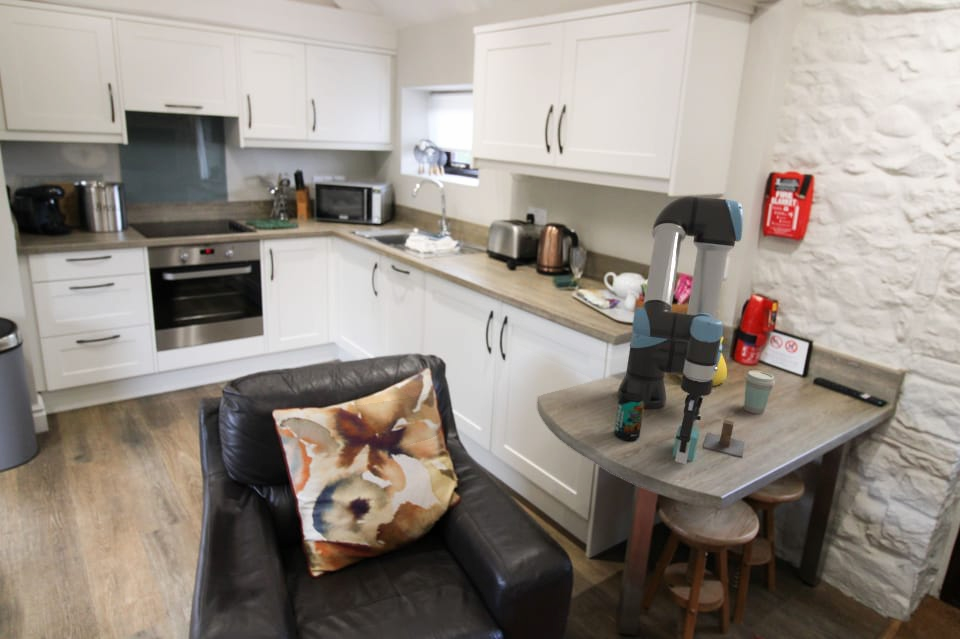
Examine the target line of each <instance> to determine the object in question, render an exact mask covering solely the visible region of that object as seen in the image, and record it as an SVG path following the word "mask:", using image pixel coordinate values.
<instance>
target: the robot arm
mask: <svg viewBox="0 0 960 639" xmlns="http://www.w3.org/2000/svg"><path fill="white" fill-rule="evenodd" d="M743 213H744V210H743V206H742V204H741V203H740V202H739V201H737V200H732V199H726V198H724V199H721V198H710V197H698V196H696V197H695V196H691V195H689V196H682V197H679V198H677V199H675V200H673V201H671V202H670V203H668V204H667V205H666V206H665V207H664V208H663V209H662V210H660V213H659V214H658V215H657V217H656V218H655V220H654V224H653V226H652V233H651V235H652V238H653V239H654V241H653V247H652V253H651V258H650V265H649V271H648V274H647V275H648V276H647V282H646V288H645V292H644V293H645V295H644V299H643V305H642V307H641V306H639V307H636V308H635V309H634V313H633V319H632V328H631V330H632V332H633V333H632V335H631V340H630V343H629V352H628V359H627V360H628V361H627V364H626V373H625V374H624V377H623V378H622V381H621V383H620V384H619V387H618V389H617V395H616V396H617V398H618V400H619V399H620V398H621V397H622V396H621V395H622V394H623V393H627V392H630V393H636V394H639V395H640V396H642V397H643V402H644V409H645V410H647V409H648V410H650V409H651V410H654V409H660V408H663V407H665V405H666V402H667V392H666V387H665V380H664V379H665V373H666V374H672V375H677V376H678V375H683V376H682V379H681V383H680V389H681V391H683V392H685V393H687V394H686V397H685V398H684V399H685V400H684V409H683V417H682V422H681V425H680V426H681V430H680V435H679V436H677V437H676V436H675V439H679V442H678V448H677V454H676V457H675V459H674V460H675V461H674V462H676V463H680V464H683V465H686V464H687V461H688V460H687V457H688V451H689V446H690V437H691V432H692V429H695V430H697V426H698V421H701V419H702V417H701V416H699V415H700V410H701V407H702V404H703V400H704V398H703V397H705V396H709V395H711V393H712V390H713V386H712V385H713V380H712V379H713V378H714V373H715V371H718V368H717V366H718V363H719V360H720V356H721V353H722V350H723V344H722V343H720V342H721V337H723V329H724V323H723V321H722V320H721V319H718V318H717V317H718V311H719V306H720V299H721V293H722V287H723V282H724V276H725V269H726V265H727V258H728V254H729V252H730V251H732V250H733V249H734V248H735V244H736V242H740V241H742V238H743V236H742V235H743V229H744V228H743V227H744V223H743V222H744V214H743ZM686 236H688V237H693V241H692V242H693V245H694V246H695V247H696V250H697V251H696V255H695V256H696V257H695V263H694V270H693V276H692V281H691V287H690V294H689V301H688V304H687V305H688V306H687V310H686V312H687V313H682V312H681V313H680V312H676V311H672V308H673V307H672V306H673V300H674V293H675V286H676V278H677V274H678V273H677V272H678V266H679V258H680V251H681V246H682V244H681V243H682V242H684V240H685V239H686ZM702 396H703V397H702ZM683 435H684V436H683Z"/></svg>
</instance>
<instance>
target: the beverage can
mask: <svg viewBox="0 0 960 639" xmlns="http://www.w3.org/2000/svg"><path fill="white" fill-rule="evenodd" d="M621 396H622V397H621V398H620V399H619V398H618V401H617V408H616V414H615V415H616V416H615V421H614V429H613V433H614V436H616V438H618V439H619V440H622V441H627V442H633V441H636V440H638V439H639V438H640V435H641V428H642V425H643V424H642V422H643V416H644V409H645V408H644V402H643V397H642V396H640V395H639V394H636V393H630V392H627V393H623V394H622V395H621Z"/></svg>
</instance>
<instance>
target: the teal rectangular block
mask: <svg viewBox="0 0 960 639" xmlns="http://www.w3.org/2000/svg"><path fill="white" fill-rule="evenodd" d="M681 426H682V425H679V427H678V429H677V431H676V435H675V439H674V440H675V441H674V445H673V451H672V457H675V458H676V454H677V448H678V442H679V439H676V437H677V436H679V435H680V430H681ZM700 432H701V431H700V430H699V429H696V430H695V429H692V432H691V437H690V446H689V451H688V457H687V461H691V462H694V459H695V456H696V453H697V448H698V443H699V437H700ZM683 436H684V435H683Z"/></svg>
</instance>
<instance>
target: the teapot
mask: <svg viewBox="0 0 960 639" xmlns="http://www.w3.org/2000/svg"><path fill="white" fill-rule="evenodd" d="M723 341H724V336H722V337H721V342H720V343H721V344H722V343H723ZM717 368H718V371H715V373H714V378H713V379H712V380H713V385H712V387H716V386H719V385H720V384H722V383H723V382H724V381H725V380H726V379H727V376H728V373H727V372H728V371H727V370H728V369H727V362H726V361H725V358H724V355H723V353H722V352H721V356H720V360H719V363H718V366H717ZM682 376H683V375H677V377H678V378H679V379H681V380H682Z"/></svg>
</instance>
